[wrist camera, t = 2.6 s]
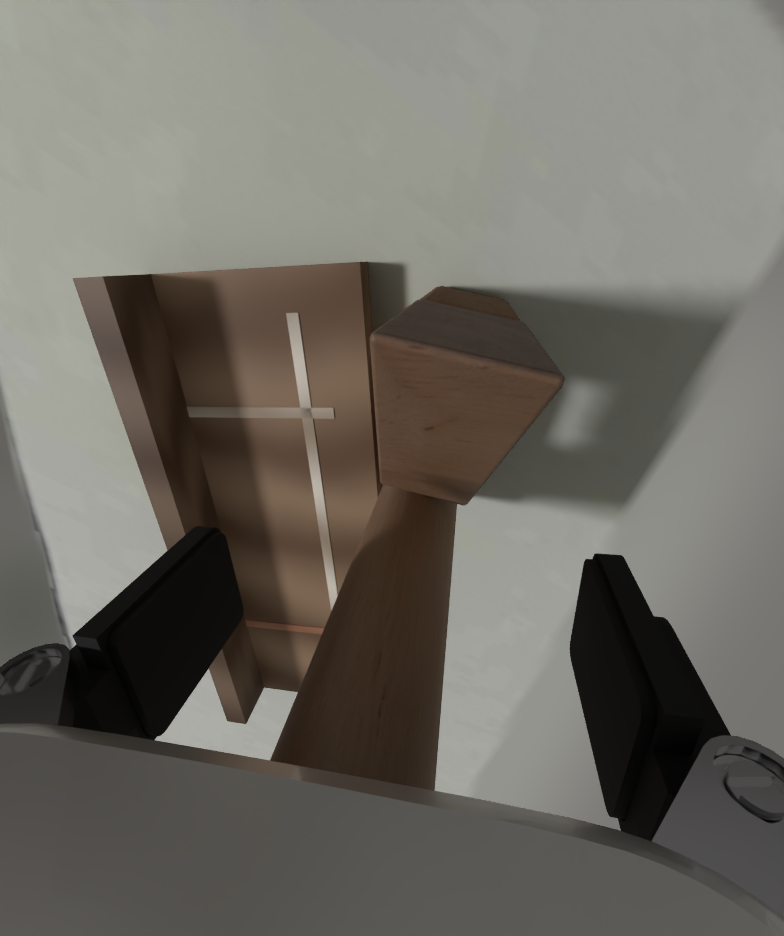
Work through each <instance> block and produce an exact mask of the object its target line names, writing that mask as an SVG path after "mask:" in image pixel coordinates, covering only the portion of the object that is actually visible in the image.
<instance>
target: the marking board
mask: <svg viewBox="0 0 784 936" xmlns="http://www.w3.org/2000/svg"><path fill="white" fill-rule="evenodd" d="M73 281H74V283H75V286H76V289H77V292H78V295H79V298H80V301H81V304H82V306H83V309H84V312H85V315H86V318H87V321H88V324H89V326H90V329H91V332H92V335H93V338H94V341H95V344H96V346H97V349H98V352H99V355H100V358H101V361H102V364H103V367H104V369H105V372H106V375H107V378H108V381H109V384H110V387H111V389H112V392H113V395H114V398H115V401H116V404H117V407H118V409H119V412H120V415H121V418H122V421H123V424H124V427H125V429H126V432H127V435H128V438H129V441H130V444H131V447H132V450H133V452H134V455H135V458H136V461H137V464H138V467H139V470H140V472H141V475H142V478H143V481H144V484H145V487H146V490H147V492H148V495H149V498H150V501H151V504H152V507H153V510H154V513H155V515H156V518H157V521H158V524H159V527H160V530H161V533H162V535H163V538H164V541H165V544H166V547H167V550H169V549H170V548H171V547H172V546H174V545H175V544H176V543H177V542H178V541H179V540H180V539H181V538H183V537H184V536H185V535H186V534H187V533H188V532H189V531H190V530H192V529H193V528H194V527H197V526H203V527H216V528H218V529H219V530H220V531H221V533H223V534H224V535H225V536H226V539H227V543H228V547H229V551H230V555H231V559H232V563H233V567H234V571H235V575H236V579H237V583H238V587H239V591H240V595H241V599H242V603H243V608H244V613H243V617H242V620H241V621H240V623H239V625H238V626H237V627H236V629H235V630H234V632H233V633H232V635H231V636H230V638H229V639H228V641H227V642H226V643H225V645H224V646H223V648H222V649H221V651H220V652H219V654H218V655H217V657H216V658H215V660H214V661H213V662H212V664H211V665H210V667H209V670H210V673H211V676H212V679H213V681H214V684H215V687H216V690H217V693H218V696H219V699H220V701H221V704H222V707H223V710H224V713H225V716H226V719H227V721H230V722H236V723H243V724H246V723H247V721H248V719H249V717H250V715H251V713H252V711H253V709H254V707H255V705H256V703H257V701H258V699H259V697H260V695H261V693H262V691H263V689H264V687H265V688H272V689H280V690H287V691H295V692H298V691H299V689H300V686H301V684H302V682H303V679H304V677H305V674H306V672H307V669H308V667H309V665H310V662H311V660H312V657H313V655H314V652H315V650H316V648H317V645H318V643H319V640H320V638H321V635H322V633H323V630H324V628H325V626H326V623H327V621H328V618H329V616H330V613H331V611H332V609H333V606H334V604H335V601H336V599H337V596H338V594H339V591H340V589H341V587H342V584H343V582H344V579H345V577H346V574H347V572H348V570H349V567H350V565H351V562H352V560H353V557H354V555H355V553H356V550H357V548H358V545H359V543H360V540H361V538H362V535H363V533H364V531H365V528H366V526H367V523H368V521H369V518H370V516H371V514H372V511H373V509H374V506H375V504H376V501H377V499H378V496H379V494H380V492H381V489H382V487H383V484H382V483H381V482H380V472H379V459H378V445H377V432H376V419H375V405H374V392H373V379H372V365H371V352H370V336H371V333H372V320H371V306H370V291H369V277H368V262H353V263H336V264H319V265H302V266H285V267H268V268H250V269H233V270H216V271H199V272H182V273H165V274H147V275H126V276H105V277H88V278H73Z"/></svg>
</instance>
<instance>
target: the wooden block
mask: <svg viewBox="0 0 784 936" xmlns="http://www.w3.org/2000/svg"><path fill="white" fill-rule="evenodd" d="M370 352H371V365H372V379H373V392H374V405H375V419H376V432H377V445H378V459H379V472H380V482H381V483H382V484H383V487H382V489H381V492H380V494H379V496H378V499H377V501H376V504H375V506H374V509H373V511H372V514H371V516H370V518H369V521H368V523H367V526H366V528H365V531H364V533H363V535H362V538H361V540H360V543H359V545H358V548H357V550H356V553H355V555H354V557H353V560H352V562H351V565H350V567H349V570H348V572H347V574H346V577H345V579H344V582H343V584H342V587H341V589H340V591H339V594H338V596H337V599H336V601H335V604H334V606H333V609H332V611H331V613H330V616H329V618H328V621H327V623H326V626H325V628H324V630H323V633H322V635H321V638H320V640H319V643H318V645H317V648H316V650H315V652H314V655H313V657H312V660H311V662H310V665H309V667H308V669H307V672H306V674H305V677H304V679H303V682H302V684H301V686H300V689H299V691H298V694H297V696H296V699H295V701H294V704H293V706H292V708H291V711H290V713H289V716H288V718H287V721H286V723H285V725H284V728H283V730H282V733H281V735H280V738H279V740H278V743H277V745H276V747H275V750H274V752H273V755H272V757H271V760H270V761H274V762H280V763H286V764H291V765H297V766H302V767H308V768H313V769H319V770H324V771H330V772H335V773H341V774H346V775H352V776H357V777H363V778H368V779H374V780H379V781H384V782H390V783H395V784H400V785H406V786H411V787H417V788H422V789H427V790H433V791H434V789H435V777H436V764H437V751H438V739H439V726H440V713H441V700H442V688H443V675H444V662H445V649H446V637H447V624H448V611H449V598H450V586H451V573H452V560H453V548H454V535H455V522H456V509H457V504H460V505H466V504H468V502H469V501H470V500H471V499H472V497H473V496H474V495H475V494H476V492H477V491H478V490H479V489H480V488H481V486H482V485H483V484H484V483H485V481H486V480H487V479H488V478H489V476H490V475H491V474H492V473H493V471H494V470H495V469H496V468H497V467H498V465H499V464H500V463H501V462H502V460H503V459H504V458H505V457H506V455H507V454H508V453H509V452H510V450H511V449H512V448H513V447H514V445H515V444H516V443H517V442H518V441H519V439H520V438H521V437H522V436H523V434H524V433H525V432H526V431H527V429H528V428H529V427H530V426H531V424H532V423H533V422H534V421H535V419H536V418H537V417H538V416H539V415H540V413H541V412H542V411H543V410H544V408H545V407H546V406H547V405H548V403H549V402H550V401H551V400H552V398H553V397H554V396H555V395H556V394H557V392H558V391H559V390H560V389H561V387H562V385H563V382H564V378H565V377H564V376H563V374H562V373H561V372H560V370H559V369H558V368H557V366H556V365H555V364H554V362H553V361H552V360H551V358H550V357H549V356H548V354H547V353H546V351H545V350H544V349H543V347H542V346H541V345H540V343H539V342H538V341H537V339H536V338H535V337H534V335H533V334H532V333H531V331H530V330H529V328H528V327H527V326H526V324H524V323H523V322H521V321H520V319H519V318H518V317H517V315H516V314H515V312H514V311H513V310H512V308H511V307H510V305H509V304H508V303H507V302H506V301H504V300H503V299H498V298H494V297H489V296H485V295H480V294H476V293H471V292H467V291H462V290H458V289H453V288H448V287H444V286H441V287H436V288H435V289H434V290H432V291H431V292H429V293H428V294H427V295H425V296H424V297H423V298H421V299H420V300H417V301H415V302H414V303H413V304H411V305H410V306H408V307H407V308H406V309H404V310H403V311H401V312H400V313H399V314H397V315H396V316H394V317H393V318H392V319H390V320H389V321H387V322H386V323H385V324H383V325H382V326H380V327H379V328H378V329H376V330H375V331H373V332H372V333H371V336H370Z"/></svg>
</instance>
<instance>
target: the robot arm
mask: <svg viewBox="0 0 784 936" xmlns="http://www.w3.org/2000/svg"><path fill="white" fill-rule="evenodd" d="M243 613H244V608H243V603H242V599H241V595H240V591H239V587H238V583H237V579H236V575H235V571H234V567H233V563H232V559H231V555H230V551H229V547H228V543H227V539H226V536H225V535H224V534H223V533H221V531H220V530H219V529H218V528H216V527H203V526H197V527H194V528H193V529H192V530H190V531H189V532H188V533H187V534H186V535H185V536H184V537H183V538H181V539H180V540H179V541H178V542H177V543H176V544H175V545H174V546H172V547H171V548H170V549H169V550H168V551H167V552H166V553H165V554H164V555H162V556H161V557H160V558H159V559H158V560H157V561H156V562H155V563H153V564H152V565H151V566H150V567H149V568H148V569H147V570H146V571H144V572H143V573H142V574H141V575H140V576H139V577H138V578H137V579H135V580H134V581H133V582H132V583H131V584H130V585H129V586H128V587H126V588H125V589H124V590H123V591H122V592H121V593H120V594H119V595H118V596H116V597H115V598H114V599H113V600H112V601H111V602H110V603H109V604H107V605H106V606H105V607H104V608H103V609H102V610H101V611H100V612H98V613H97V614H96V615H95V616H94V617H93V618H92V619H91V620H89V621H88V622H87V623H86V624H85V625H84V626H83V627H82V628H81V629H79V630H78V631H77V632H76V633H75V634H74V635H73V638H74V640H75V642H76V644H77V645H75V646H74V647H73V648H72V649H71V650H69V648H68V647H67V646H66V645H63V644H59V643H51V644H44V645H41V646H37V647H34V648H31V649H29V650H27V651H24V652H22V653H20V654H18V655H17V656H15V657H13V658H12V659H10V660H8V661H7V662H6V663H5V664H3V665H2V666H1V667H0V936H784V758H782V757H781V756H779V755H778V754H776V753H775V752H774V751H772V750H770V749H768V748H766V747H764V746H762V745H760V744H758V743H756V742H754V741H751V740H747V739H745V738H741V737H738V736H731V735H730V733H729V731H728V729H727V727H726V726H725V724H724V722H723V720H722V718H721V716H720V714H719V713H718V711H717V709H716V707H715V705H714V704H713V702H712V700H711V698H710V696H709V695H708V692H707V691H706V689H705V687H704V685H703V683H702V681H701V679H700V678H699V676H698V674H697V672H696V670H695V668H694V667H693V665H692V663H691V661H690V659H689V657H688V655H687V654H686V652H685V650H684V648H683V646H682V644H681V643H680V641H679V639H678V637H677V635H676V633H675V632H674V630H673V628H672V626H671V625H670V623H669V622H668V620H666V619H665V618H663V617H654V616H653V614H652V612H651V610H650V608H649V606H648V604H647V602H646V600H645V598H644V596H643V594H642V592H641V590H640V588H639V586H638V584H637V582H636V581H635V579H634V577H633V575H632V573H631V571H630V569H629V567H628V565H627V563H626V561H625V559H624V557H623V556H621V555H610V554H594V556H593V559H586V560H585V562H584V566H583V572H582V577H581V583H580V589H579V595H578V600H577V606H576V612H575V618H574V623H573V629H572V635H571V641H570V656H571V662H572V666H573V670H574V675H575V679H576V683H577V687H578V692H579V696H580V700H581V704H582V709H583V713H584V717H585V721H586V726H587V730H588V734H589V738H590V743H591V747H592V751H593V755H594V759H595V764H596V768H597V772H598V776H599V781H600V785H601V789H602V793H603V798H604V802H605V806H606V809H607V812H608V814H609V816H610V817H615V818H618V821H619V825H620V828H621V831H619V830H616V829H611V828H608V827H604V826H600V825H596V824H592V823H588V822H585V821H580V820H576V819H573V818H569V817H564V816H559V815H554V814H549V813H544V812H539V811H534V810H530V809H525V808H520V807H515V806H510V805H505V804H500V803H496V802H491V801H486V800H481V799H475V798H470V797H465V796H460V795H454V794H449V793H443V792H438V791H433V790H427V789H422V788H417V787H411V786H406V785H400V784H395V783H390V782H384V781H379V780H374V779H368V778H363V777H357V776H352V775H346V774H341V773H335V772H330V771H324V770H319V769H313V768H308V767H302V766H297V765H291V764H286V763H280V762H274V761H269V760H263V759H258V758H252V757H246V756H241V755H235V754H230V753H224V752H218V751H213V750H207V749H201V748H195V747H189V746H184V745H178V744H172V743H166V742H161V741H155V738H156V737H157V736H160V735H162V734H163V733H164V732H165V731H166V729H167V728H168V727H169V725H170V724H171V722H172V721H173V719H174V718H175V716H176V715H177V714H178V712H179V711H180V709H181V708H182V706H183V705H184V703H185V702H186V700H187V699H188V697H189V696H190V695H191V693H192V692H193V690H194V689H195V687H196V686H197V684H198V683H199V681H200V680H201V679H202V677H203V676H204V674H205V673H206V671H207V670H208V668H209V667H210V665H211V664H212V662H213V661H214V660H215V658H216V657H217V655H218V654H219V652H220V651H221V649H222V648H223V646H224V645H225V643H226V642H227V641H228V639H229V638H230V636H231V635H232V633H233V632H234V630H235V629H236V627H237V626H238V625H239V623H240V621H241V620H242V617H243Z"/></svg>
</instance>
